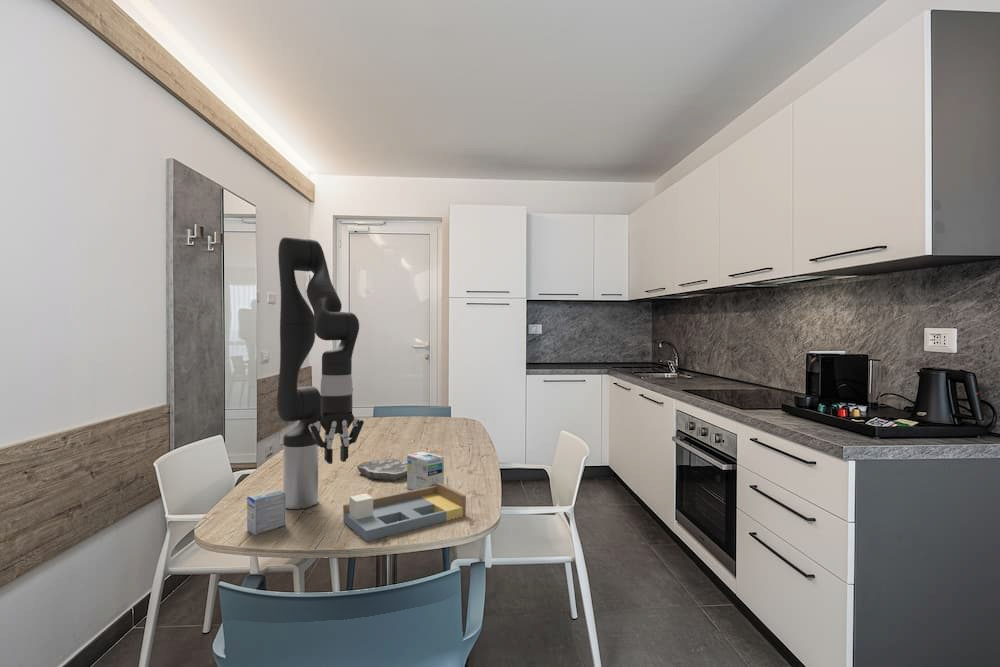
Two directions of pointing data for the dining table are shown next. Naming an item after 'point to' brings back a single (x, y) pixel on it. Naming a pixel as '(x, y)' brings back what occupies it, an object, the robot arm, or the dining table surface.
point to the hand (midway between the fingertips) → (336, 461)
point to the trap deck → (408, 511)
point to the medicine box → (266, 511)
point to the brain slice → (384, 469)
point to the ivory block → (361, 506)
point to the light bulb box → (424, 470)
